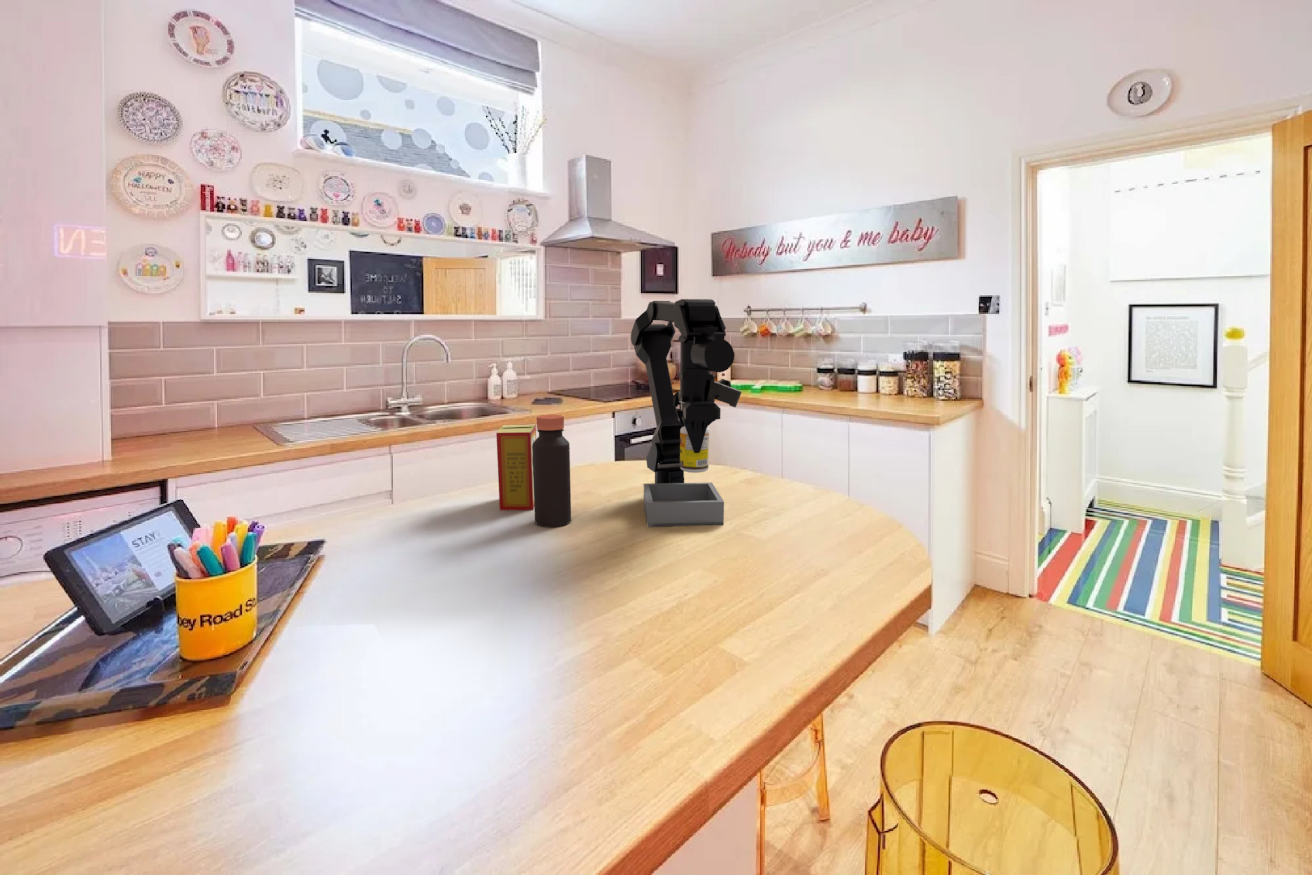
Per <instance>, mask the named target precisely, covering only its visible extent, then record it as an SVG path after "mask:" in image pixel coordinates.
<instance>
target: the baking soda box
mask: <svg viewBox="0 0 1312 875" xmlns="http://www.w3.org/2000/svg"><path fill="white" fill-rule="evenodd" d="M495 435H496V437H495V438H496V456H497V459H496V460H497V473H498V474H497V479H498V500H499V503H498V504H499V511H534V482H533V453H532V445H533V442H534V441H535V440H536V439H537V423H536V424H503V425H502V426H501V428H499V430H497V432H496V434H495Z"/></svg>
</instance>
